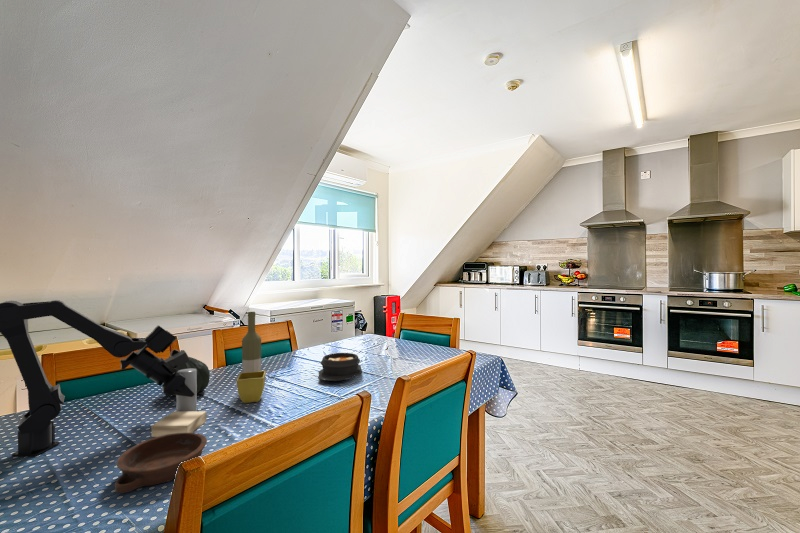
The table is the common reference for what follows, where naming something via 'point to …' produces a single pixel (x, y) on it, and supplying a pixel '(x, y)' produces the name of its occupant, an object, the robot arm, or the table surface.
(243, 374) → the flower pot
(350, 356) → the casserole
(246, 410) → the table surface
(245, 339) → the bottle
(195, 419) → the base block
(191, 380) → the tumbler
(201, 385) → the squash
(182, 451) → the dish
